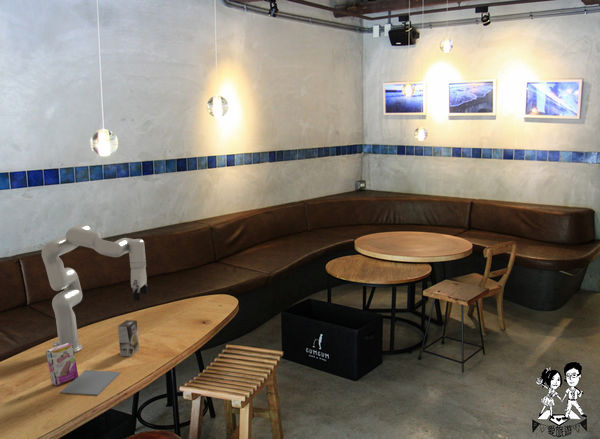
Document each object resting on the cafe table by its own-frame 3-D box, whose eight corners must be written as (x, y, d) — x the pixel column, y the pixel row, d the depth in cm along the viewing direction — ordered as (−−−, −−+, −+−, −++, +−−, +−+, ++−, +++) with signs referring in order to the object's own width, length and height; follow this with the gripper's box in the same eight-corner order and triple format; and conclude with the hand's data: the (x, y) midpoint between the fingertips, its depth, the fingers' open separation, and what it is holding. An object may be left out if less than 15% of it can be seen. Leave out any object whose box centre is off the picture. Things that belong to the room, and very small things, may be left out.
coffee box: (131, 356, 300) (128, 326, 297) (120, 356, 302) (117, 326, 298) (139, 349, 309) (137, 320, 306) (128, 348, 310) (125, 319, 307)
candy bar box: (56, 386, 269) (50, 351, 268) (51, 384, 273) (44, 350, 271) (79, 377, 278) (72, 343, 276) (74, 375, 281) (67, 342, 279)
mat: (60, 393, 264) (60, 392, 264) (85, 371, 285) (85, 370, 285) (97, 395, 261) (97, 394, 261) (120, 373, 282) (120, 371, 282)
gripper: (137, 259, 302) (139, 291, 305) (124, 269, 285) (127, 302, 288) (151, 259, 301) (153, 291, 304) (139, 269, 284) (141, 302, 288)
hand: (140, 297), depth 296 cm, fingers open, 9 cm apart
